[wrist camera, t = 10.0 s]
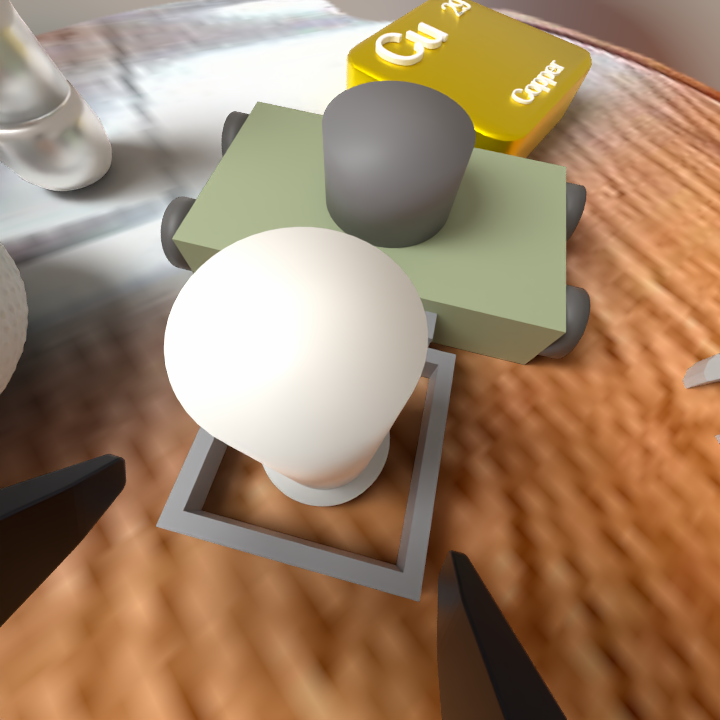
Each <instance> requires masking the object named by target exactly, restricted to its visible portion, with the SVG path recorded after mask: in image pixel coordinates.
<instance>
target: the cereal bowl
mask: <svg viewBox="0 0 720 720" xmlns="http://www.w3.org/2000/svg"><path fill="white" fill-rule="evenodd" d="M28 312H29V309H28V305H27V294H26V291H25V289H24V282H23V280H22V278H21V276H20V271H19V269H18V268H17V266H16V265H15V262H14V260H13V259H12V257H11V256H10V255H9V254H8V252H7V250H6V248H5V247H4V245H3V244H2V243H1V242H0V394H1V392H2V391H3V390H4V389H5V388H6V386H7V383H8V382H9V381H10V378H11V377H12V374H13V373H14V371H15V370H16V365H17V363H18V360H19V359H20V357H21V354H22V352H23V346H24V343H25V341H26V336H27V334H26V330H27V326H28V318H27V316H28Z"/></svg>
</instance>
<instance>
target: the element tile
mask: <svg viewBox="0 0 720 720" xmlns="http://www.w3.org/2000/svg"><path fill="white" fill-rule="evenodd" d="M591 65H592V63H591V57H590V53H589V52H588V51H587V50H585V49H583V48H581V47H579V46H577V45H574V44H572V43H569V42H567V41H565V40H562V39H560V38H558V37H555V36H553V35H551V34H548V33H546V32H544V31H541V30H539V29H537V28H534V27H532V26H529V25H527V24H525V23H522V22H520V21H518V20H515V19H513V18H511V17H508V16H506V15H504V14H501V13H499V12H496V11H494V10H492V9H489V8H487V7H485V6H482V5H480V4H478V3H475V2H473V1H471V0H428V1H426V2H425V3H423V4H422V5H420V6H418V7H417V8H415V9H414V10H412V11H411V12H409V13H407V14H406V15H404V16H402V17H401V18H399V19H398V20H396V21H394V22H393V23H391V24H390V25H388V26H386V27H385V28H383V29H382V30H380V31H379V32H377V33H375V34H374V35H372V36H371V37H369V38H367V39H366V40H364V41H363V42H361V43H359V44H358V45H356V46H355V47H354V48H353V49H351V50H350V52H349V54H348V56H347V90H348V89H350V88H352V87H354V86H357V85H360V84H364V83H368V82H375V81H404V82H410V83H415V84H420V85H423V86H426V87H429V88H432V89H434V90H437V91H439V92H441V93H443V94H445V95H447V96H448V97H450V98H451V99H453V100H454V101H455V102H457V103H458V104H459V105H460V106H461V107H462V108H463V109H464V110H465V111H466V113H467V114H468V115H469V117H470V118H471V120H472V122H473V125H474V128H475V134H476V140H475V145H474V147H475V148H479V149H484V150H489V151H493V152H498V153H503V154H508V155H512V156H517V157H522V158H527V156H528V155H529V154H530V153H531V152H532V151H533V150H534V149H535V148H536V146H537V145H538V144H539V143H540V142H541V141H542V140H543V139H544V138H545V136H546V135H547V134H548V133H549V132H550V131H551V130H552V129H553V127H554V126H555V125H556V124H557V123H558V122H559V121H560V120H561V119H562V117H563V115H564V114H565V112H566V110H567V108H568V107H569V105H570V103H571V101H572V100H573V98H574V96H575V94H576V93H577V91H578V89H579V87H580V86H581V84H582V82H583V80H584V79H585V77H586V75H587V73H588V71H589V70H590V68H591Z"/></svg>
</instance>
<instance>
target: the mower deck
mask: <svg viewBox="0 0 720 720" xmlns="http://www.w3.org/2000/svg"><path fill="white" fill-rule="evenodd" d="M475 140H476V134H475V128H474V125H473V122H472V120H471V118H470V117H469V115H468V114H467V113H466V111H465V110H464V109H463V108H462V107H461V106H460V105H459V104H458V103H457V102H455V101H454V100H453V99H451V98H450V97H448V96H447V95H445V94H443V93H441V92H439V91H437V90H434V89H432V88H429V87H426V86H423V85H420V84H415V83H410V82H404V81H375V82H368V83H364V84H360V85H357V86H354V87H352V88H350V89H348V90H345V91H344V92H342V93H341V94H339V95H338V96H337V97H335V98H334V99H333V100H332V101H331V102H330V104H329V105H328V106H327V108H326V110H325V112H324V115H319V114H314V113H309V112H305V111H300V110H295V109H290V108H286V107H281V106H276V105H272V104H267V103H262V102H257V103H256V105H255V107H254V108H253V110H252V111H251V113H250V114H245V113H241V112H236V111H234V112H231V113H230V114H229V115H228V117H227V119H226V121H225V124H224V127H223V132H222V155H223V158H222V159H221V161H220V163H219V164H218V166H217V167H216V169H215V171H214V172H213V174H212V175H211V177H210V179H209V180H208V182H207V183H206V185H205V187H204V188H203V190H202V191H201V193H200V195H199V196H198V198H197V199H192V198H188V197H178V198H176V199H174V200H173V201H172V202H171V203H170V204H169V205H168V207H167V209H166V211H165V213H164V216H163V219H162V225H161V241H162V247H163V250H164V253H165V255H166V257H167V259H168V260H169V261H170V263H171V264H173V265H174V266H175V267H178V268H182V269H186V270H190V271H193V273H195V272H196V271H197V270H198V269H199V268H200V267H201V266H202V265H203V264H204V263H205V262H206V261H208V260H209V259H210V258H211V257H212V256H214V255H215V254H217V253H218V252H220V251H221V250H223V249H224V248H226V247H228V246H230V245H231V244H233V243H235V242H237V241H239V240H242V239H244V238H247V237H249V236H251V235H255V234H258V233H261V232H265V231H269V230H274V229H280V228H289V227H316V228H325V229H330V230H335V231H339V232H343V233H346V234H349V235H352V236H355V237H357V238H359V239H361V240H363V241H366V242H368V243H369V244H371V245H373V246H374V247H376V248H378V249H379V250H381V251H382V252H383V253H385V254H386V255H387V256H389V257H390V258H391V259H392V260H393V261H394V262H395V263H396V264H397V265H398V266H399V267H400V268H401V269H402V270H403V271H404V272H405V274H406V275H407V276H408V277H409V279H410V280H411V282H412V284H413V285H414V287H415V289H416V290H417V292H418V295H419V297H420V299H421V302H422V304H423V308H424V311H425V315H426V320H427V327H428V346H429V345H430V343H431V342H433V343H437V344H441V345H446V346H450V347H454V348H458V349H462V350H466V351H470V352H474V353H478V354H482V355H486V356H491V357H495V358H499V359H503V360H507V361H511V362H515V363H519V364H523V365H525V364H526V363H527V362H529V361H530V360H531V359H533V358H534V357H535V356H536V355H541V356H545V357H549V358H554V359H560V358H563V357H564V356H566V355H567V354H569V353H570V352H571V351H572V350H573V349H574V347H575V346H576V345H577V343H578V342H579V340H580V339H581V337H582V335H583V333H584V330H585V328H586V325H587V322H588V318H589V313H590V299H589V295H588V293H587V292H586V290H584V289H583V288H579V287H574V286H570V285H566V242H567V241H568V239H569V238H570V237H571V235H572V233H573V232H574V230H575V228H576V226H577V224H578V222H579V220H580V218H581V215H582V213H583V210H584V206H585V202H586V189H585V187H584V186H581V185H577V184H572V183H567V182H566V167H564V166H559V165H555V164H550V163H545V162H541V161H536V160H531V159H526V158H522V157H517V156H512V155H508V154H503V153H498V152H493V151H489V150H484V149H479V148H475V147H474V145H475ZM455 359H456V354H451V353H447V352H443V351H439V350H435V349H431V348H427V354H426V361H425V364H424V367H423V371H422V374H421V376H423V377H427V378H429V383H428V389H427V394H426V400H425V406H424V411H423V417H422V423H421V428H420V434H419V439H418V445H417V451H416V456H415V462H414V468H413V473H412V479H411V484H410V490H409V496H408V501H407V507H406V513H405V518H404V524H403V529H402V535H401V541H400V546H399V552H398V558H397V563H396V565H394V564H390V563H387V562H383V561H380V560H376V559H373V558H369V557H365V556H362V555H358V554H355V553H351V552H348V551H344V550H341V549H337V548H333V547H330V546H326V545H323V544H319V543H316V542H312V541H309V540H305V539H301V538H298V537H294V536H291V535H287V534H284V533H280V532H277V531H273V530H269V529H266V528H262V527H259V526H255V525H252V524H248V523H245V522H241V521H237V520H234V519H230V518H227V517H223V516H220V515H216V514H213V513H209V512H205V511H202V508H203V505H204V503H205V500H206V498H207V495H208V493H209V490H210V488H211V485H212V483H213V480H214V478H215V475H216V473H217V471H218V468H219V466H220V463H221V461H222V458H223V456H224V453H225V451H226V448H227V446H228V445H227V444H226V443H224V442H222V441H221V440H219V439H217V438H215V437H214V436H212V435H211V434H209V433H208V432H207V431H206V430H204V429H203V428H202V427H201V426H200V429H199V431H198V433H197V435H196V438H195V440H194V442H193V444H192V447H191V449H190V451H189V453H188V456H187V458H186V460H185V462H184V465H183V467H182V469H181V471H180V473H179V476H178V478H177V480H176V482H175V485H174V487H173V489H172V491H171V494H170V496H169V498H168V500H167V503H166V505H165V507H164V509H163V512H162V514H161V516H160V518H159V520H158V523H157V525H156V527H160V528H163V529H167V530H170V531H174V532H177V533H181V534H184V535H188V536H191V537H195V538H198V539H202V540H205V541H209V542H212V543H216V544H219V545H223V546H226V547H230V548H233V549H237V550H240V551H244V552H247V553H251V554H254V555H257V556H261V557H264V558H268V559H271V560H275V561H278V562H282V563H285V564H289V565H292V566H296V567H299V568H303V569H306V570H310V571H313V572H317V573H320V574H324V575H327V576H331V577H334V578H338V579H341V580H345V581H348V582H352V583H355V584H359V585H362V586H366V587H369V588H373V589H376V590H380V591H383V592H387V593H390V594H394V595H397V596H401V597H404V598H408V599H411V600H415V601H418V602H420V595H421V589H422V582H423V575H424V568H425V562H426V555H427V548H428V541H429V535H430V528H431V521H432V514H433V507H434V501H435V494H436V487H437V480H438V474H439V467H440V460H441V453H442V447H443V440H444V433H445V426H446V419H447V413H448V406H449V399H450V392H451V386H452V379H453V372H454V365H455Z"/></svg>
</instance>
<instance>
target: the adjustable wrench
mask: <svg viewBox="0 0 720 720" xmlns="http://www.w3.org/2000/svg"><path fill="white" fill-rule="evenodd" d="M718 381H719V382H720V353H719V354H717V355H714V356H712V357H709V358H707V359H704V360H702V361H699V362H697V363H695V364H694V365H693V366H691V367H690V368H689V369H688V370H687V372H686V374H685V376H684V378H683V383H684V386H685V388H691V387H695V386H700V385H704V384H709V383H714V382H718ZM715 437H716V439H717V441H718V442H719V444H720V435H716V436H715Z"/></svg>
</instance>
